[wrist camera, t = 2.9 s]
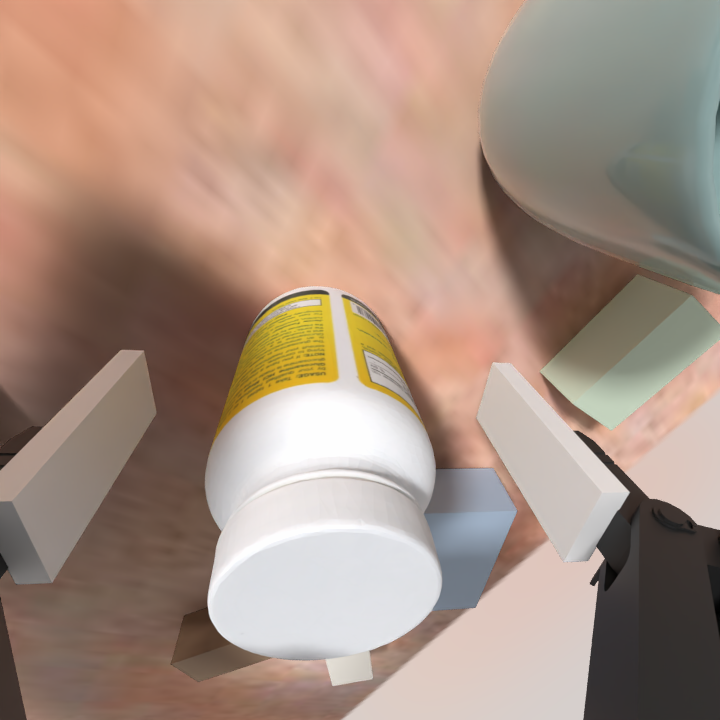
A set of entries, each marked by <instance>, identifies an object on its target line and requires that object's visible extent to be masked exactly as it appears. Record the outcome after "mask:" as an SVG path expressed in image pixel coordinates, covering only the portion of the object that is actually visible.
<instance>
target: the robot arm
mask: <svg viewBox="0 0 720 720" xmlns="http://www.w3.org/2000/svg"><path fill="white" fill-rule="evenodd" d="M156 414H157V412H156V407H155V402H154V397H153V392H152V387H151V382H150V377H149V372H148V367H147V362H146V357H145V352H144V350H120V351H119V352H118V353H117V354H116V355H115V356H114V357H113V358H112V359H111V360H110V361H109V362H108V363H107V364H106V365H105V366H104V367H103V368H102V369H101V370H100V371H99V372H98V373H97V374H96V375H95V376H94V377H93V378H92V379H91V380H90V381H89V382H88V383H87V384H86V385H85V386H84V387H83V388H82V389H81V390H80V391H79V392H78V393H77V394H76V395H75V396H74V397H73V398H72V399H71V400H70V401H69V402H68V403H67V404H66V405H65V406H64V407H63V408H62V409H61V410H60V411H59V412H58V413H57V414H56V415H55V416H54V417H53V418H52V419H51V420H50V421H49V422H48V423H47V424H46V425H45V426H44V427H31V428H29V429H27V430H25V431H24V432H22V433H20V434H18V435H17V436H15V437H13V438H11V439H10V440H9V441H8V442H7V443H6V444H5V445H4V446H3V447H1V448H0V578H1V577H2V576H3V574H4V573H5V572H6V570H8V571H9V573H10V575H11V577H12V578H13V580H14V582H15V584H16V585H17V584H41V583H53V581H54V579H55V578H56V576H57V574H58V573H59V571H60V570H61V568H62V566H63V565H64V563H65V561H66V560H67V558H68V557H69V555H70V553H71V552H72V550H73V548H74V547H75V545H76V544H77V542H78V540H79V539H80V537H81V535H82V534H83V532H84V531H85V529H86V527H87V526H88V524H89V522H90V521H91V519H92V518H93V516H94V514H95V513H96V511H97V509H98V508H99V506H100V505H101V503H102V501H103V500H104V498H105V497H106V495H107V493H108V492H109V490H110V488H111V487H112V485H113V484H114V482H115V480H116V479H117V477H118V475H119V474H120V472H121V471H122V469H123V467H124V466H125V464H126V462H127V461H128V459H129V458H130V456H131V454H132V453H133V451H134V449H135V448H136V446H137V445H138V443H139V441H140V440H141V438H142V436H143V435H144V433H145V432H146V430H147V428H148V427H149V425H150V424H151V422H152V420H153V419H154V417H155V415H156ZM476 418H477V420H478V421H479V423H480V425H481V426H482V428H483V430H484V431H485V433H486V435H487V436H488V438H489V440H490V441H491V443H492V445H493V446H494V448H495V450H496V451H497V453H498V455H499V456H500V458H501V460H502V461H503V463H504V465H505V466H506V468H507V470H508V471H509V473H510V475H511V476H512V478H513V480H514V481H515V483H516V484H517V486H518V488H519V489H520V491H521V493H522V494H523V496H524V498H525V499H526V501H527V503H528V504H529V506H530V508H531V509H532V511H533V513H534V514H535V516H536V518H537V519H538V521H539V523H540V524H541V526H542V528H543V529H544V531H545V533H546V534H547V536H548V538H549V539H550V541H551V543H552V544H553V546H554V547H555V549H556V551H557V552H558V554H559V556H560V557H561V559H562V561H563V562H579V561H588V560H589V559H590V557H591V555H592V554H593V552H594V550H595V549H596V547H597V548H598V549H599V551H600V552H601V553H602V555H603V556H604V558H605V559H604V561H603V563H602V564H601V566H600V567H599V569H598V570H597V572H596V573H595V575H594V577H593V578H592V580H591V582H590V584H591V585H592V586H595V584H596V582H597V581H599V583H598V592H597V602H596V610H595V620H594V629H593V637H592V647H591V656H590V665H589V674H588V683H587V693H586V701H585V711H584V719H583V720H720V530H717V529H713V528H708V527H704V526H700V525H697V524H696V523H695V522H694V521H693V520H692V518H691V517H690V516H688V515H687V514H686V513H684V512H683V511H681V510H680V509H679V508H677V507H675V506H673V505H671V504H669V503H667V502H663V501H660V500H657V499H649V498H648V497H647V496H646V495H645V494H644V493H643V492H642V490H641V489H640V488H639V487H638V486H637V485H636V484H635V483H634V482H633V481H632V480H631V479H630V478H629V477H628V476H627V475H626V474H625V473H624V472H623V471H622V470H621V469H620V468H619V467H618V466H617V465H615V464H614V461H613V460H612V459H611V458H610V457H609V456H608V455H605V452H604V451H603V450H602V449H601V448H600V447H599V446H598V445H597V444H596V443H595V442H594V441H593V440H592V439H590V438H589V437H587V436H586V435H584V434H583V433H581V432H580V431H573V430H572V429H571V428H570V427H569V426H568V425H567V424H566V423H565V422H564V421H563V419H562V418H561V417H560V416H559V415H558V414H557V413H556V412H555V411H554V410H553V409H552V408H551V406H550V405H549V404H548V403H547V402H546V401H545V400H544V399H543V398H542V397H541V396H540V395H539V393H538V392H537V391H536V390H535V389H534V388H533V387H532V386H531V385H530V384H529V383H528V382H527V380H526V379H525V378H524V377H523V376H522V375H521V374H520V373H519V372H518V371H517V370H516V369H515V367H514V366H513V365H512V364H511V363H492V366H491V370H490V373H489V377H488V380H487V383H486V387H485V390H484V393H483V397H482V400H481V403H480V407H479V410H478V414H477V417H476ZM0 720H27V719H26V715H25V710H24V705H23V701H22V696H21V691H20V687H19V682H18V677H17V672H16V668H15V663H14V658H13V654H12V649H11V644H10V640H9V635H8V630H7V626H6V621H5V616H4V612H3V607H2V602H1V598H0Z"/></svg>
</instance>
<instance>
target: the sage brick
mask: <svg viewBox="0 0 720 720" xmlns="http://www.w3.org/2000/svg"><path fill="white" fill-rule="evenodd" d="M719 340H720V324H719V323H718V322H717V321H716V320H715V319H714V318H713V317H712V316H711V315H710V314H709V312H708V311H707V310H706V309H705V308H704V307H703V306H702V305H701V304H700V303H699V302H698V301H697V300H696V299H695V298H694V297H693V295H691V294H688V293H685V292H683V291H680V290H678V289H675V288H672V287H670V286H667V285H664V284H662V283H659V282H657V281H654V280H651V279H649V278H646V277H644V276H641V275H638V274H637V275H636V276H635V277H634V278H633V279H632V280H631V281H630V282H629V283H628V284H627V285H626V286H625V287H624V288H623V289H622V290H621V291H620V292H619V293H618V294H617V295H616V296H615V297H614V298H613V299H612V300H611V301H610V302H609V303H608V304H607V305H606V306H605V307H604V308H603V309H602V310H601V311H600V312H599V313H598V314H597V315H596V316H595V317H594V318H593V319H592V320H591V321H590V322H589V323H588V324H587V325H586V326H585V327H584V328H583V329H582V330H581V331H580V332H579V333H578V334H577V335H576V336H575V337H574V338H573V339H572V340H571V341H570V342H569V343H568V344H567V345H566V346H565V347H564V348H563V349H562V350H561V351H560V352H559V353H558V354H557V355H556V356H555V357H554V358H553V359H552V360H551V361H550V362H549V363H548V364H547V365H546V366H545V367H544V368H542V369H541V370H540V372H541V373H542V374H543V375H544V376H545V377H546V378H547V379H548V380H549V381H550V382H551V383H552V384H553V385H554V386H555V387H556V388H557V389H558V390H559V391H560V392H561V393H562V394H563V395H564V396H565V397H566V398H567V399H568V400H569V401H570V402H571V403H572V404H573V405H575V406H576V407H578V408H579V409H581V410H582V411H584V412H585V413H586V414H588V415H589V416H591V417H592V418H594V419H595V420H597V421H598V422H600V423H601V424H602V425H604V426H605V427H607V428H608V429H610V430H611V431H612V430H613V429H614V428H615V427H616V426H618V425H619V424H620V423H621V422H622V421H624V420H625V419H626V418H627V417H628V416H630V415H631V414H632V413H633V412H634V411H635V410H637V409H638V408H639V407H640V406H641V405H643V404H644V403H645V402H646V401H647V400H649V399H650V398H651V397H652V396H653V395H654V394H656V393H657V392H658V391H659V390H660V389H662V388H663V387H664V386H665V385H666V384H668V383H669V382H670V381H671V380H672V379H674V378H675V377H676V376H677V375H678V374H679V373H681V372H682V371H683V370H684V369H685V368H687V367H688V366H689V365H690V364H691V363H693V362H694V361H695V360H696V359H697V358H698V357H700V356H701V355H702V354H703V353H704V352H706V351H707V350H708V349H709V348H710V347H712V346H713V345H714V344H715V343H716V342H718V341H719Z"/></svg>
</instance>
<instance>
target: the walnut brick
mask: <svg viewBox="0 0 720 720" xmlns="http://www.w3.org/2000/svg"><path fill="white" fill-rule="evenodd" d="M270 658H272V657H267V656H262V655H259V654H255V653H251V652H249V651H247V650H244V649H242V648H240V647H238V646H236V645H234V644H233V643H231V642H229V641H228V640H227V639H225V638H224V637H223V636H222V635H221V634H220V633H219V632H218V631H217V629H216V628H215V626H214V624H213V623H212V621H211V619H210V616H209V611H208V608H205V609H202V610H199V611H196V612H193V613H190V614H188V615H185V616H184V618H183V622H182V625H181V629H180V633H179V636H178V640H177V643H176V647H175V651H174V654H173V658H172V662H171V665H173V666H174V667H176V668H177V669H179V670H180V671H182V672H183V673H185V674H187V675H188V676H190V677H191V678H193V679H194V680H196V681H197V682H200V681H203V680H206V679H209V678H213V677H216V676H219V675H222V674H225V673H228V672H231V671H234V670H237V669H240V668H243V667H246V666H249V665H252V664H255V663H258V662H261V661H264V660H267V659H270Z"/></svg>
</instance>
